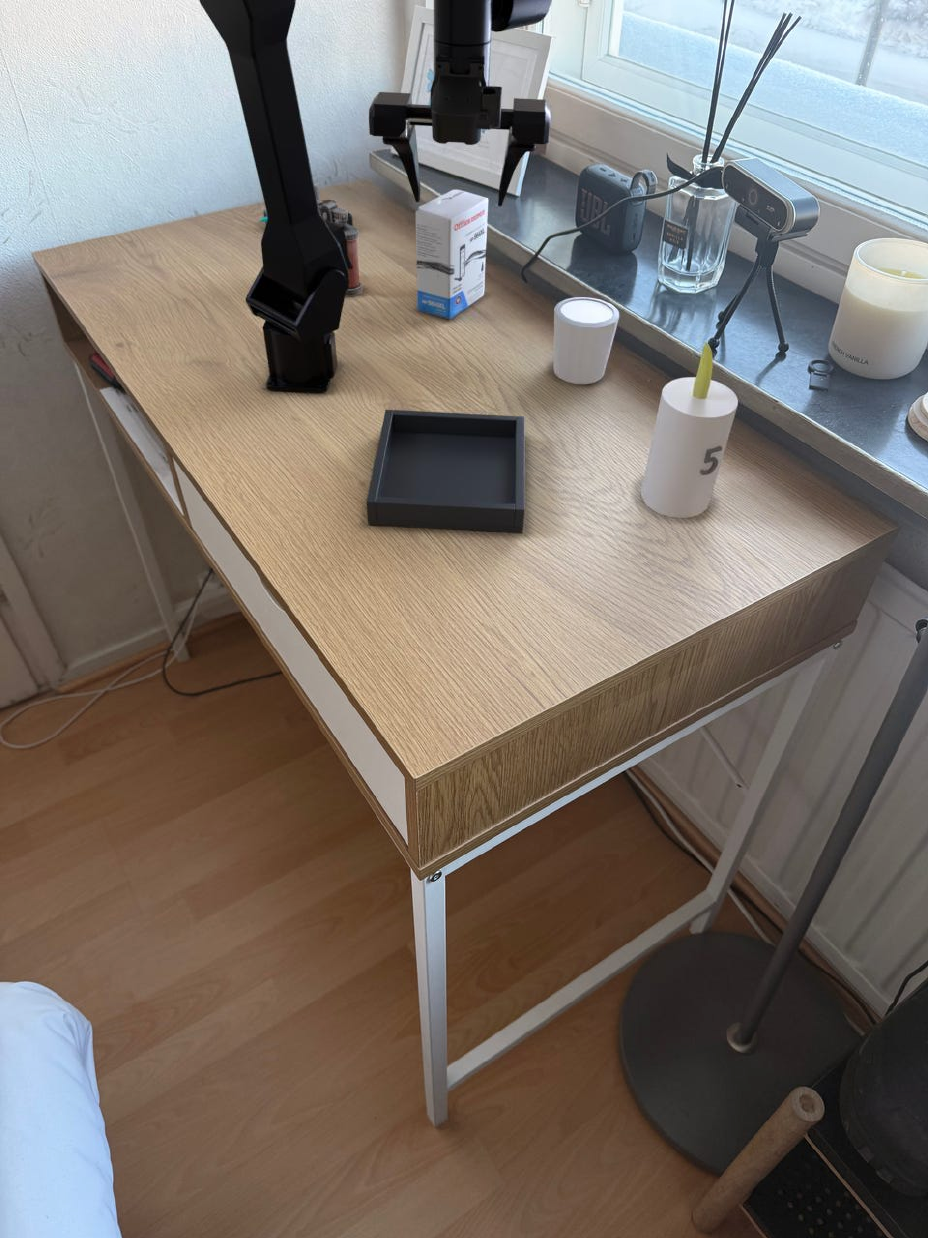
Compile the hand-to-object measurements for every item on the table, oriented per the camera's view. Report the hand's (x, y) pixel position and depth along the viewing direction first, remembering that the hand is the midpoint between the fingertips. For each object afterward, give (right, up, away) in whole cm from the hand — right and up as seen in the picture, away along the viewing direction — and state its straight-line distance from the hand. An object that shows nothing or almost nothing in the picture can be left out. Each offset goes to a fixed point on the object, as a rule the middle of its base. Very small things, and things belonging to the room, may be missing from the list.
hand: (458, 202), depth 97 cm
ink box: (-1, -8, +10) cm, 12 cm away
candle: (+20, -36, -17) cm, 44 cm away
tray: (-1, -34, -16) cm, 37 cm away
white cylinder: (+13, -19, -1) cm, 23 cm away
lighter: (-16, -5, +12) cm, 20 cm away
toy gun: (-21, +7, +23) cm, 32 cm away
